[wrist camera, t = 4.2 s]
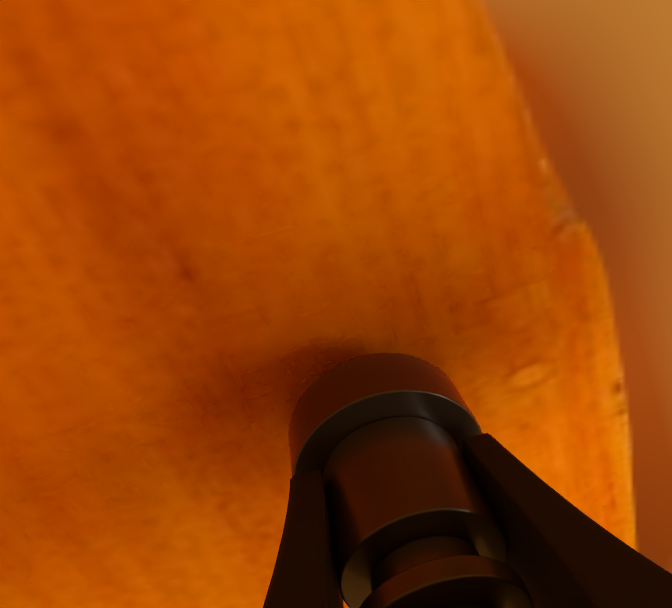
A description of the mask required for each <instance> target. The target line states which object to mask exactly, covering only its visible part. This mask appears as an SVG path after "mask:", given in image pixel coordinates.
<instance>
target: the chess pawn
mask: <svg viewBox="0 0 672 608" xmlns="http://www.w3.org/2000/svg"><path fill="white" fill-rule="evenodd" d="M481 434H482V431H481V428H480V426H479V424H478V422H477V421H476V419H475V417H474V416H473V414H472V412H471V411H470V409H469V408H468V406H467V405H466V403H465V401H464V400H463V398H462V397H461V395H460V393H459V392H458V390H457V389H456V387H455V385H454V384H453V382H452V381H451V380H450V378H449V377H448V376H447V375H446V374H445V373H444V372H443V371H442V370H440V369H439V368H438V367H436V366H435V365H433V364H431V363H430V362H428V361H425V360H423V359H421V358H418V357H414V356H411V355H405V354H399V353H380V354H371V355H366V356H361V357H358V358H355V359H352V360H349V361H347V362H344V363H342V364H340V365H338V366H336V367H334V368H333V369H331V370H329V371H327V372H326V373H325V374H323V375H322V376H321V377H319V378H318V379H317V380H316V381H315V382H314V383H313V384H312V385H311V386H310V387H309V388H308V389H307V390H306V391H305V393H304V394H303V395H302V397H301V398H300V400H299V401H298V403H297V405H296V407H295V409H294V411H293V414H292V417H291V420H290V425H289V446H290V457H291V469H292V477H293V476H294V475H296V474H301V473H305V472H310V471H314V470H319V469H320V470H321V475H322V479H323V484H324V489H325V495H326V501H327V507H328V514H329V520H330V526H331V536H332V545H333V554H334V560H335V567H336V573H337V579H338V586H339V590H340V593H341V596H342V598H343V600H344V601H345V602H346V604H347V605H348V606H349V607H350V608H534V604H533V600H532V598H531V595H530V593H529V592H528V590H527V588H526V586H525V584H524V582H523V580H522V578H521V577H520V575H519V574H518V573H517V572H516V571H515V570H514V569H513V568H512V567H510V566H509V565H507V564H506V563H505V560H506V556H507V543H506V538H505V535H504V533H503V531H502V529H501V527H500V525H499V523H498V521H497V519H496V518H495V516H494V514H493V512H492V510H491V508H490V506H489V504H488V503H487V501H486V499H485V497H484V495H483V493H482V491H481V489H480V488H479V486H478V484H477V482H476V480H475V478H474V476H473V475H472V473H471V471H470V469H469V467H468V465H467V463H466V461H465V460H464V458H463V443H462V438H467V437H471V436H476V435H481Z"/></svg>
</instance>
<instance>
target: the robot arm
mask: <svg viewBox="0 0 672 608" xmlns="http://www.w3.org/2000/svg"><path fill="white" fill-rule="evenodd" d="M462 443H463V458H464V460H465V461H466V463H467V465H468V467H469V469H470V471H471V473H472V475H473V476H474V478H475V480H476V482H477V484H478V486H479V488H480V489H481V491H482V493H483V495H484V497H485V499H486V501H487V503H488V504H489V506H490V508H491V510H492V512H493V514H494V516H495V518H496V519H497V521H498V523H499V525H500V527H501V529H502V531H503V533H504V535H505V538H506V543H507V556H506V560H505V563H506V564H507V565H509V566H510V567H512V568H513V569H514V570H515V571H516V572H517V573H518V574H519V575H520V577H521V578H522V580H523V582H524V584H525V586H526V588H527V590H528V592H529V593H530V595H531V598H532V600H533V604H534V608H672V574H671V573H669V572H668V571H666V570H664V569H663V568H661V567H660V566H658V565H657V564H655V563H654V562H652V561H651V560H649V559H648V558H646V557H645V556H643V555H641V554H640V553H638V552H637V551H636V550H634V549H633V548H631V547H630V546H628V545H627V544H625V543H624V542H622V541H621V540H620V539H618V538H617V537H615V536H614V535H612V534H611V533H610V532H608V531H607V530H606V529H604V528H603V527H602V526H600V525H599V524H597V523H596V522H595V521H593V520H592V519H591V518H589V517H588V516H587V515H585V514H584V513H583V512H581V511H580V510H579V509H578V508H576V507H575V506H574V505H572V504H571V503H570V502H569V501H567V500H566V499H565V498H564V497H562V496H561V495H560V494H559V493H557V492H556V491H555V490H554V489H552V488H551V487H550V486H549V485H547V484H546V483H545V482H544V481H543V480H541V479H540V478H539V477H538V476H537V475H535V474H534V473H533V472H532V471H531V470H530V469H528V468H527V467H526V466H525V465H524V464H523V463H521V462H520V461H519V460H518V459H517V458H516V457H515V456H513V455H512V454H511V453H510V452H509V451H508V450H507V449H506V448H504V447H503V446H502V445H501V444H500V443H499V442H498V441H497V440H496V439H494V438H493V437H492V436H491V435H489V434H488V433H485V434H481V435H476V436H471V437H467V438H462ZM263 608H344V607H343V598H342V596H341V593H340V590H339V586H338V579H337V573H336V567H335V560H334V554H333V545H332V536H331V526H330V520H329V514H328V507H327V501H326V495H325V489H324V484H323V479H322V475H321V470H320V469H319V470H314V471H310V472H305V473H301V474H296V475H294V476H293V477H292V478H291V479H290V493H289V501H288V508H287V514H286V519H285V525H284V530H283V535H282V539H281V543H280V547H279V551H278V556H277V560H276V564H275V568H274V571H273V575H272V578H271V582H270V585H269V589H268V592H267V595H266V599H265V602H264V605H263Z"/></svg>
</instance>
